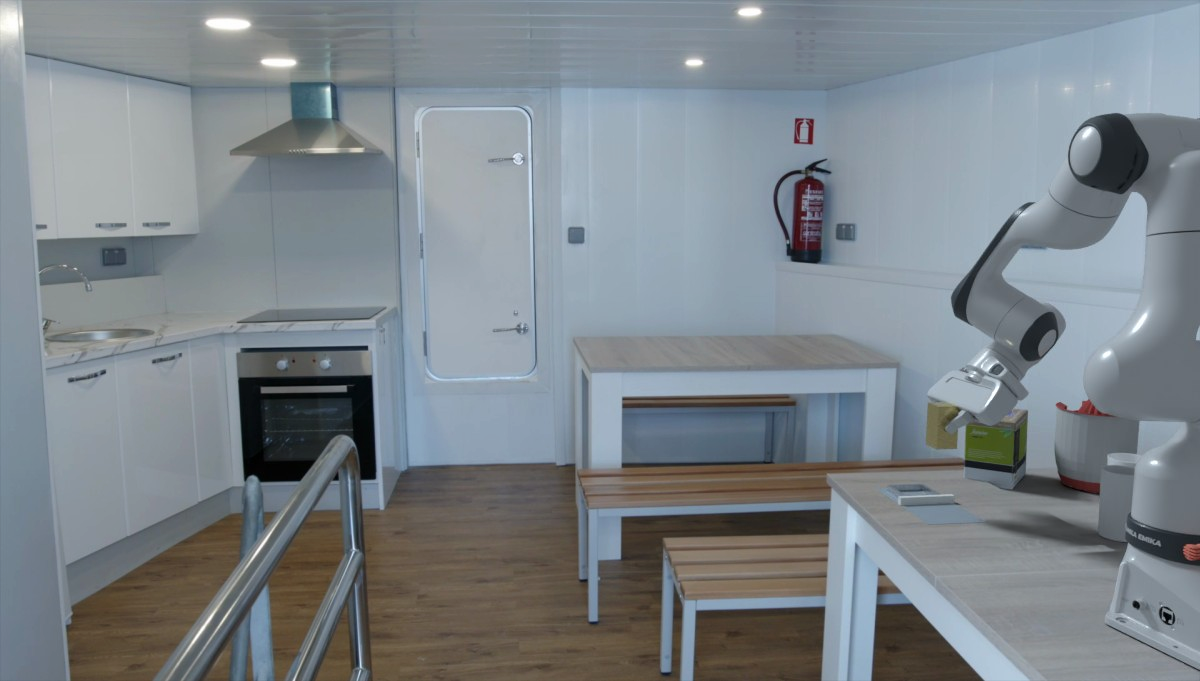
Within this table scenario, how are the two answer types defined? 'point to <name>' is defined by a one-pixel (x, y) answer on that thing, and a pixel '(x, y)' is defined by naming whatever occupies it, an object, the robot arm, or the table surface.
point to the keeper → (910, 489)
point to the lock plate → (933, 507)
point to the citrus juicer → (1090, 443)
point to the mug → (1115, 501)
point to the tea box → (997, 450)
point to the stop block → (941, 425)
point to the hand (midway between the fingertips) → (938, 427)
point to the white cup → (1123, 459)
